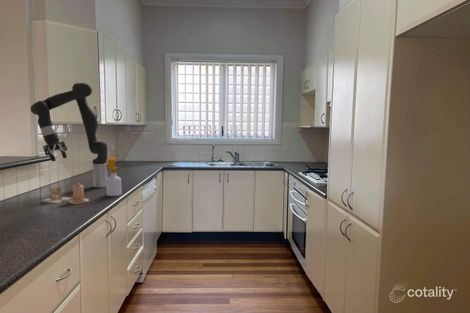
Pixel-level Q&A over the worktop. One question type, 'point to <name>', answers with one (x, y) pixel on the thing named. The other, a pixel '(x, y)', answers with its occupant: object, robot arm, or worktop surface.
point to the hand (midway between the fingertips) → (59, 159)
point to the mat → (78, 202)
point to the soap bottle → (113, 180)
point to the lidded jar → (78, 193)
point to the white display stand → (56, 196)
